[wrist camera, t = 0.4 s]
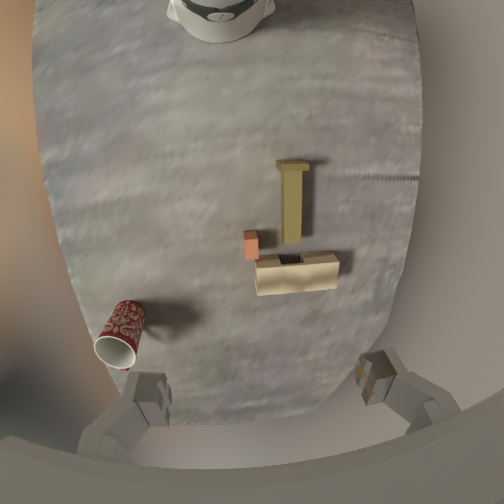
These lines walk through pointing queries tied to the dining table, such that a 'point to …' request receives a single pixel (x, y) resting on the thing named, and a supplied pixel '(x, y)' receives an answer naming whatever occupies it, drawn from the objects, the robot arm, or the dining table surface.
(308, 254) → the block
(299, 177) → the pin
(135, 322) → the mug
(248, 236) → the orange block
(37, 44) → the dining table surface
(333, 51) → the dining table surface
